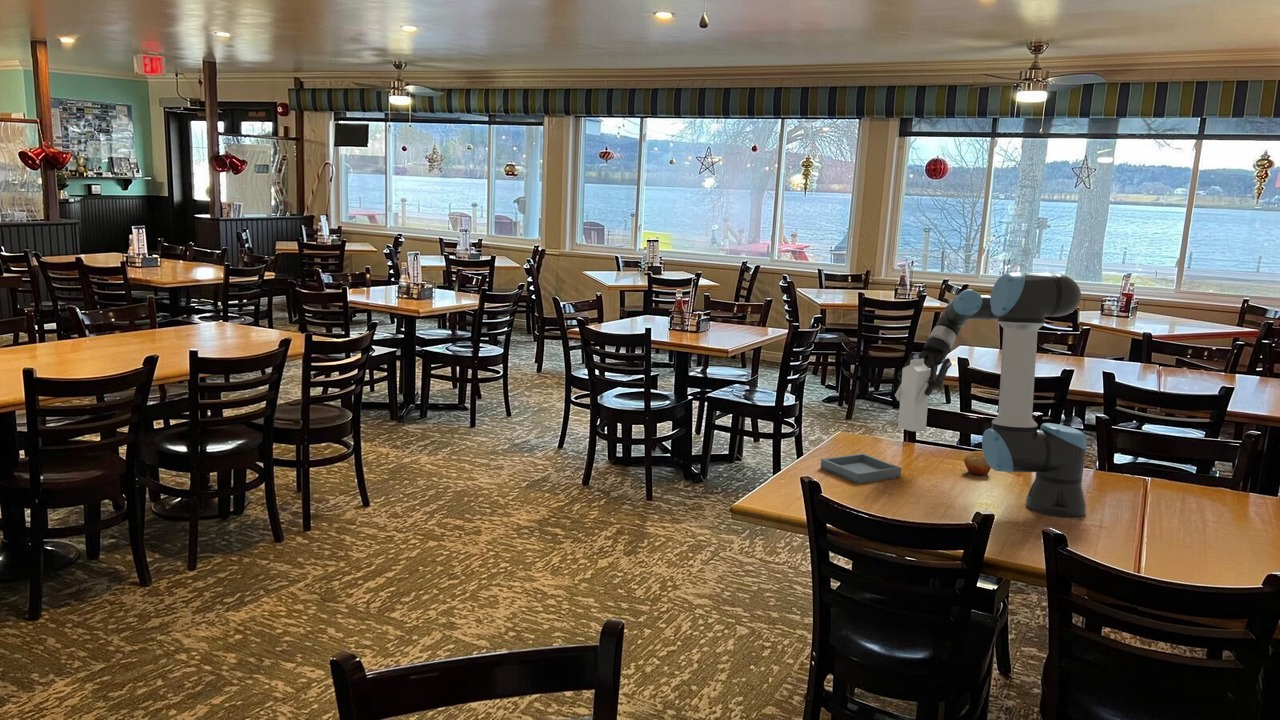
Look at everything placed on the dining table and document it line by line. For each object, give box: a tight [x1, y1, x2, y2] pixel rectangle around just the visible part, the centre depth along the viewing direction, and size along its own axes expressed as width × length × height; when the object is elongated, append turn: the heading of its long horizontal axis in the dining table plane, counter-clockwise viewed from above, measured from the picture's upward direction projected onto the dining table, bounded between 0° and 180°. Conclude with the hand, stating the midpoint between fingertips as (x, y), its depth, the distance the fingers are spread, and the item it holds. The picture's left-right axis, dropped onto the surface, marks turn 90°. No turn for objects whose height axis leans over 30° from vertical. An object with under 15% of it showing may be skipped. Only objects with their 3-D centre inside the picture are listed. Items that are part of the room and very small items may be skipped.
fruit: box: [963, 450, 992, 476], centre depth 290 cm, size 8×8×8 cm
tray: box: [820, 453, 902, 485], centre depth 287 cm, size 17×17×3 cm
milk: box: [897, 359, 931, 432], centre depth 290 cm, size 6×6×22 cm
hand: (908, 400), depth 288 cm, fingers closed on milk, 7 cm apart
